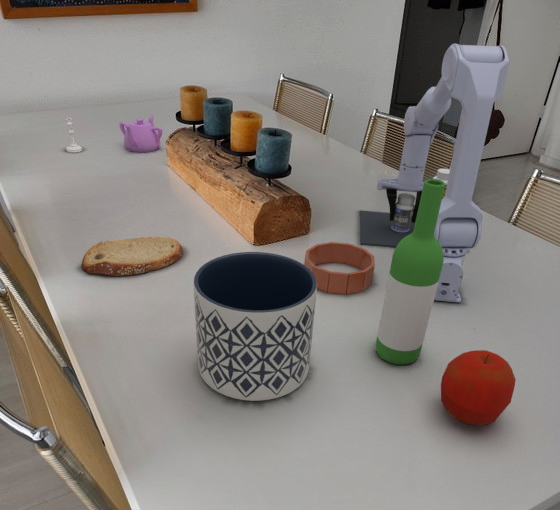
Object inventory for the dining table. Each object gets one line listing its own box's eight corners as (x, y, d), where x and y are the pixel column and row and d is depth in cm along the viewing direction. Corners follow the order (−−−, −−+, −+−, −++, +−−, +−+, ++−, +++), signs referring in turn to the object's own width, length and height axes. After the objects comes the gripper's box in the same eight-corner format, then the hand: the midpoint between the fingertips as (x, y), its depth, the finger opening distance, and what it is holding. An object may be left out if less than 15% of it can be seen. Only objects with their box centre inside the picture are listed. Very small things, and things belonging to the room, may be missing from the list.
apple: (488, 392, 88) (511, 333, 80) (511, 437, 80) (538, 376, 72) (427, 392, 87) (443, 332, 80) (444, 437, 79) (464, 375, 72)
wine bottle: (425, 350, 96) (469, 180, 77) (410, 372, 91) (454, 196, 72) (384, 335, 99) (417, 168, 80) (367, 357, 94) (398, 183, 75)
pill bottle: (388, 230, 135) (394, 196, 130) (394, 223, 138) (400, 191, 133) (406, 234, 133) (413, 201, 128) (412, 228, 137) (419, 195, 131)
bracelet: (372, 297, 110) (375, 277, 107) (301, 290, 110) (302, 270, 108) (370, 264, 121) (373, 245, 118) (306, 258, 122) (307, 239, 119)
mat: (445, 252, 128) (446, 250, 127) (360, 244, 129) (360, 242, 128) (435, 218, 143) (436, 217, 143) (359, 211, 144) (360, 210, 144)
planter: (176, 364, 90) (167, 275, 79) (257, 324, 100) (259, 241, 90) (249, 420, 80) (251, 327, 70) (331, 370, 90) (342, 283, 80)
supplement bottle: (436, 214, 146) (445, 175, 139) (422, 206, 149) (430, 169, 143) (451, 210, 148) (460, 172, 142) (436, 203, 152) (444, 166, 145)
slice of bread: (189, 249, 123) (188, 233, 120) (153, 286, 109) (151, 269, 107) (117, 236, 126) (114, 221, 124) (74, 271, 112) (70, 255, 110)
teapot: (128, 155, 172) (124, 125, 166) (120, 143, 182) (116, 114, 176) (165, 152, 176) (163, 123, 170) (155, 140, 186) (152, 112, 180)
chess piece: (65, 148, 174) (58, 114, 168) (81, 147, 176) (75, 113, 170) (67, 153, 171) (60, 118, 165) (83, 151, 173) (77, 117, 166)
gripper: (442, 161, 128) (429, 216, 137) (381, 156, 129) (372, 211, 138) (446, 170, 123) (433, 227, 131) (382, 165, 124) (373, 222, 132)
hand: (402, 220), depth 134 cm, fingers closed on pill bottle, 5 cm apart
